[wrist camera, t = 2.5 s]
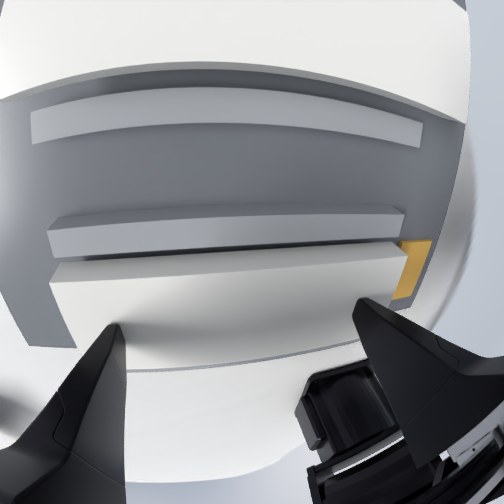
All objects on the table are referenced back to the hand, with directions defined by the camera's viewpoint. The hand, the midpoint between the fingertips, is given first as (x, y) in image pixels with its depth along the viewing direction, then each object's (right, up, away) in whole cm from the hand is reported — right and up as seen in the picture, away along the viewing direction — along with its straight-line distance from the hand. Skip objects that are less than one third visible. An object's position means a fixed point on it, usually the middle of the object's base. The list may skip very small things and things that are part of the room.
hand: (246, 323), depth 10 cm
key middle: (+1, +8, -6) cm, 10 cm away
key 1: (0, 0, 0) cm, 1 cm away
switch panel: (0, +10, -2) cm, 11 cm away
